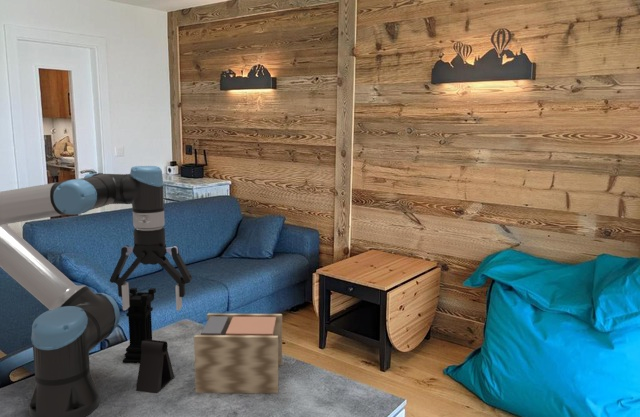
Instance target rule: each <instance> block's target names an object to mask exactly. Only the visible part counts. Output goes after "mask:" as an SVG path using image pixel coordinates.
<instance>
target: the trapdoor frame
mask: <svg viewBox="0 0 640 417" xmlns="http://www.w3.org/2000/svg"><path fill="white" fill-rule="evenodd" d="M210 316H226V317H228V319H229V325H230V322H231V320H232V318H233V317H276V324H275V328H274V333H273V336H253V335H201V334H195V335H194V336H193V340H194V341H193V342H194V343H193V344H194V346H193V350H194V379H195V380H194V384H195V387H194V388H195V393H196V394H199V393H200V394H201V393H202V394H279V366H283V314H282V313H225V312H223V313H222V312H220V313H219V312H215V313H213V312H212V313H211V312H210V313H209V312H208V313H207V314H206V320H207V321H206V323H207V322H208V320H209V318H210Z"/></svg>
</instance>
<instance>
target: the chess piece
mask: <svg viewBox="0 0 640 417" xmlns="http://www.w3.org/2000/svg"><path fill="white" fill-rule="evenodd" d="M156 290H157V288H156V287H151V288H149V289H148V292H146V291H145V292H144V291H141V292H140V291H138V287H130V288H129V306H130V307H129V308H128V309H127V310H128V311H127V312H126V317H128V318H127V319H128V333H129V334H128V335H129V336H128V337H129V345H128V346H127V347H126V348H125V351H126V352H125V354H123V355H124V358H123V360H122V364H140V359H141V343H142V341H145V339H148V340H153V328H152V327H153V326H152V325H153V324H152V312H153V311H154V307H153V306H152V305H151V304H152V302H153V301H154V300H155V294H156V292H157V291H156Z"/></svg>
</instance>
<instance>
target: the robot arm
mask: <svg viewBox="0 0 640 417" xmlns="http://www.w3.org/2000/svg"><path fill="white" fill-rule="evenodd" d="M164 195H165V194H164V179H163V171H162V168H161V167H160V166H158V165H157V166H156V165H136V166H132V167H131V168H130V173H125V174H123V173H122V174H121V173H103V172H98V173H97V172H96V173H88V174H86V175H85V176H84V177H82V178H75V179H74V178H73V179H69V180H68V179H67V180H64V181H60V182H59V181H57V182H51V183H46V184H40V185H33V186H26V187H21V188H15V189H8V190H3V191H0V268H1V269H2V270H3V271H4V272H5V273H6V274H8V275H9V276H10V277H11V278H12V279H13V280H14V281H16V282H17V283H18V284H19V285H20V286H21V287H22V288H24V289H25V290H26V291H27V292H28V293H29V294H31V295H32V296H33V297H34V298H35V299H36V300H37V301H39V302H40V303H41V304H42V305H43V306H45V307H46V308H47V309H48V310H46V311H44V312H43V313H41V314H40V315H38V316H37V317H36V318H35V319H34V320H33V323H32V324H31V336H30V339H31V344H32V355H33V356H32V357H33V367H34V377H35V378H34V379H35V384H34V388H33V390H32V394H31V397H30V401H29V406H28V412H29V417H86V416H87V415H89V414H91V413H92V412H93V411H95V410H96V409H97V408H98V406H99V405H100V391H99V388H98V387H97V385H96V382H95V380H94V378H93V377H92V374H91V370H90V369H91V368H90V367H91V366H90V352H91V351H92V350H94V348H95V347H97V346H98V345H99V344H100V343H101V342H103V341H104V340H106V339H107V338H109V337H110V335H111V334H113V332H114V331H115V330H116V329H117V327H118V325H119V323H120V319H121V318H120V315H121V314H120V313H121V312H120V307H119V305H118V303H117V302H116V300H115V299H114V298H113V297H112V296H111V295H109V294H107V293H104V292H94V291H93V290H91V288H89V287H88V286H87V285H86V284H84V285H82V284H81V285H76V284H75V283H74V282H73V281H72V280H71V279H69V277H67V276H66V275H65V274H64V273H63V272H61V270H59V269H58V268H57V267H56V266H55V265H54V264H53V263H51V262H50V261H49V260H48V259H47V258H46V257H45V256H44V255H43V254H41V253H40V252H39V251H38V250H37V249H35V248H34V247H33V246H32V245H31V244H30V243H29V242H27V241H26V240H25V239H24V238H23V237H21V236H20V235H19V233H17V232H16V231H15V230H14V229H13V228H11V227H10V226H9V225H8V224H15V223H20V222H27V221H34V220H39V219H45V218H52V217H53V218H54V217H58V216H64V215H65V216H66V215H81V214H85V213H87V212H89V211H92V210H95V209H99V208H102V207H105V206H108V205H109V206H110V205H131V206H132V207H131V208H132V224H133V227H134V230H133V244H134V245H133V246H129V245H124V246H123V247H122V248H121V251H120V257H119V260H118V261H117V264H116V266H115V267H114V270H113V272H112V274H111V276H110V278H109V282H110V283H114V284H116V285H117V292H118V293H117V294H118V297H119V298H121V302H122V311H127V310H128V308H129V307H130V306H129V294H130V291H129V289H130V288H129V287H130V286H129V282H126V281H127V279H129V277H130V276H131V275H132V273H134V272H135V271H136V269H137V268H138V266H139V265H140V264H143V266H144V265H152V266H153V265H154V266H155V265H156V266H157V264H158V265H159V266H160V267H162V268H163V269H164V270H165V271H166V272H167V273H168V274H169V276H170V277H171V278H172V279H173V280H174V281H175V283H177V284H176V285H175V307H176V308H175V311H181V309H182V307H183V300H182V299H183V298H184V297H185V295H186V284H189V283H190V282H192V280H193V276H192V274H191V273H190V271H189V268H188V267H187V265H186V263H185V262H184V260H183V258H182V256H181V255H180V248H179V246H178V245H174V246H170V247H167V245H166V228H164V226H165V224H166V221H165V203H164V201H165V200H164V199H165V198H164ZM167 253H168V254H169V256H171V258H172V259H173V262H174V263H175V266H176V267H177V269H178V270H177V269H176V268H175V266H174V265H173V263H171V262H170V261H169V259H168V257H166V254H167ZM132 254H133V255H134V256H135V257H136V258H135V260H134V261H133V262H132V264H131V265H129V267H128V268H127V269H126V270H125V272H124V273H123V274H122V276H120V275H121V273H122V271H123V269H124V268H125V265H126V262H127V261H128V258H129V257H130V255H132Z"/></svg>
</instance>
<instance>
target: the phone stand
mask: <svg viewBox="0 0 640 417" xmlns="http://www.w3.org/2000/svg"><path fill="white" fill-rule="evenodd" d="M168 350H169V349H168V341H166V340H165V341H164V340H154V339H152V340H148V339H145V341H142V343H141V359H140V363H139V366H138V373H137V379H136V388H135V391H137V392H144V393H153V394H159V392H161V391H162V390H163V389H164V388H165V387H166V386H167V385H169V383H171V382H172V381H173V379H175V373H174V369H173V367H172V366H173V365H172V362H171V358H170V356H169V351H168Z"/></svg>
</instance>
